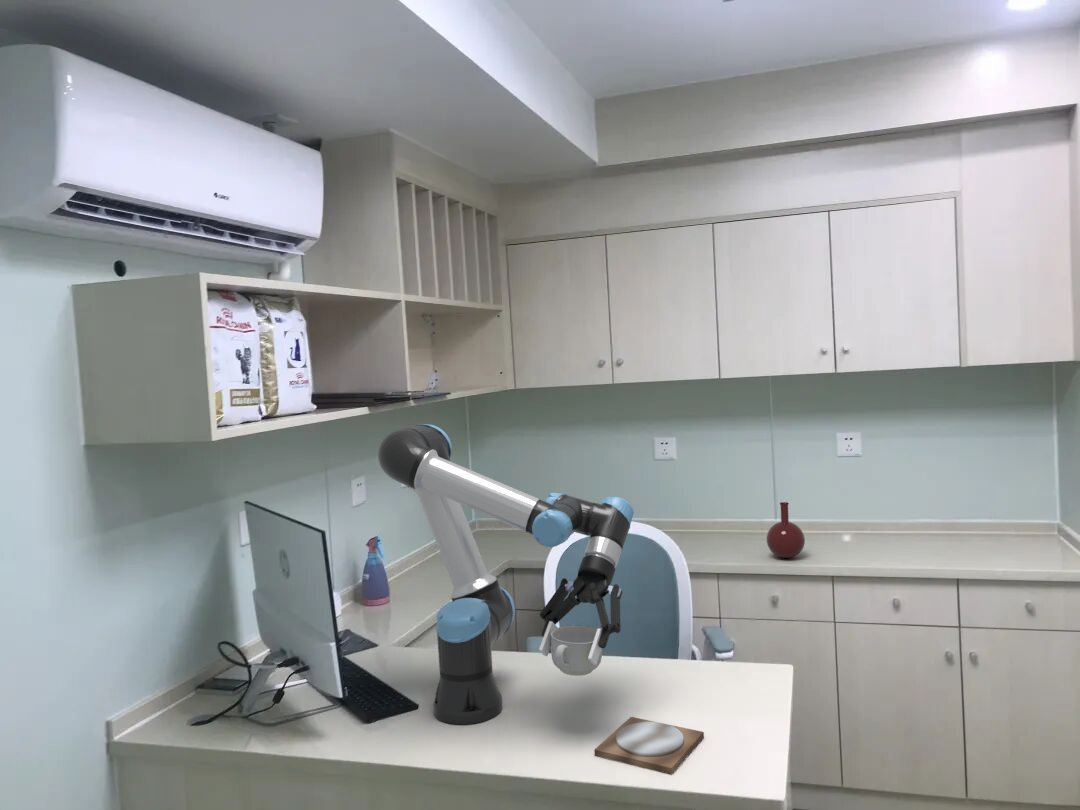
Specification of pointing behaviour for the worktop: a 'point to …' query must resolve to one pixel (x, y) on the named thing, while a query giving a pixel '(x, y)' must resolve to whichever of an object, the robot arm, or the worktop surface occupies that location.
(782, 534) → the round-bottom flask
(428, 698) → the worktop surface
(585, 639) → the teacup
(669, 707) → the worktop surface
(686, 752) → the walnut board
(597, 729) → the worktop surface
